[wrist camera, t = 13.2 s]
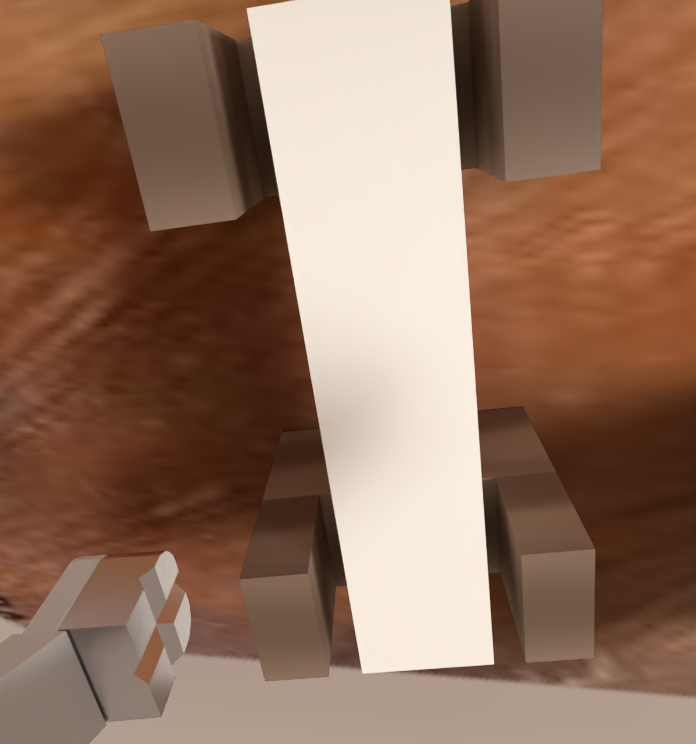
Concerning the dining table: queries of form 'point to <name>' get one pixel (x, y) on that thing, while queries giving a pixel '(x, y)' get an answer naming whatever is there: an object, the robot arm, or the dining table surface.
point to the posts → (258, 180)
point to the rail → (385, 311)
